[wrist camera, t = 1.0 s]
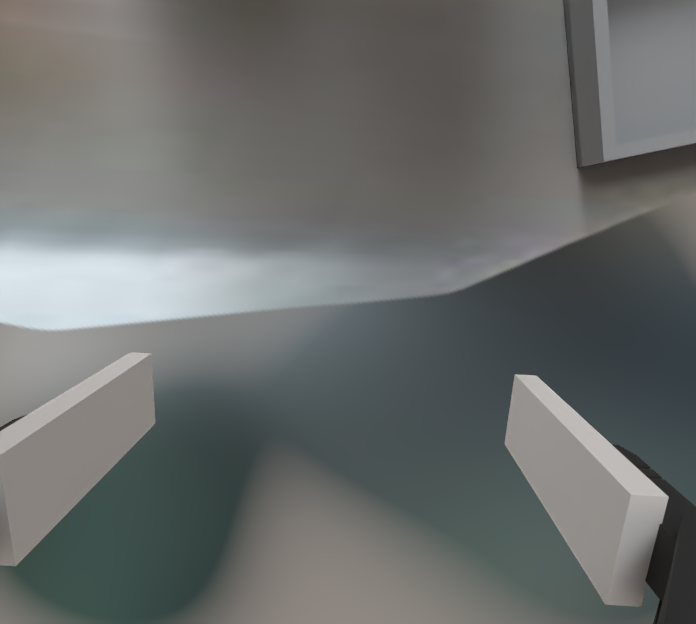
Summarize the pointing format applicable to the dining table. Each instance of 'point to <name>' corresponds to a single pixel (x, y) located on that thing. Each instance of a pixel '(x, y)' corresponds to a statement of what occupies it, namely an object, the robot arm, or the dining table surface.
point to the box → (631, 76)
